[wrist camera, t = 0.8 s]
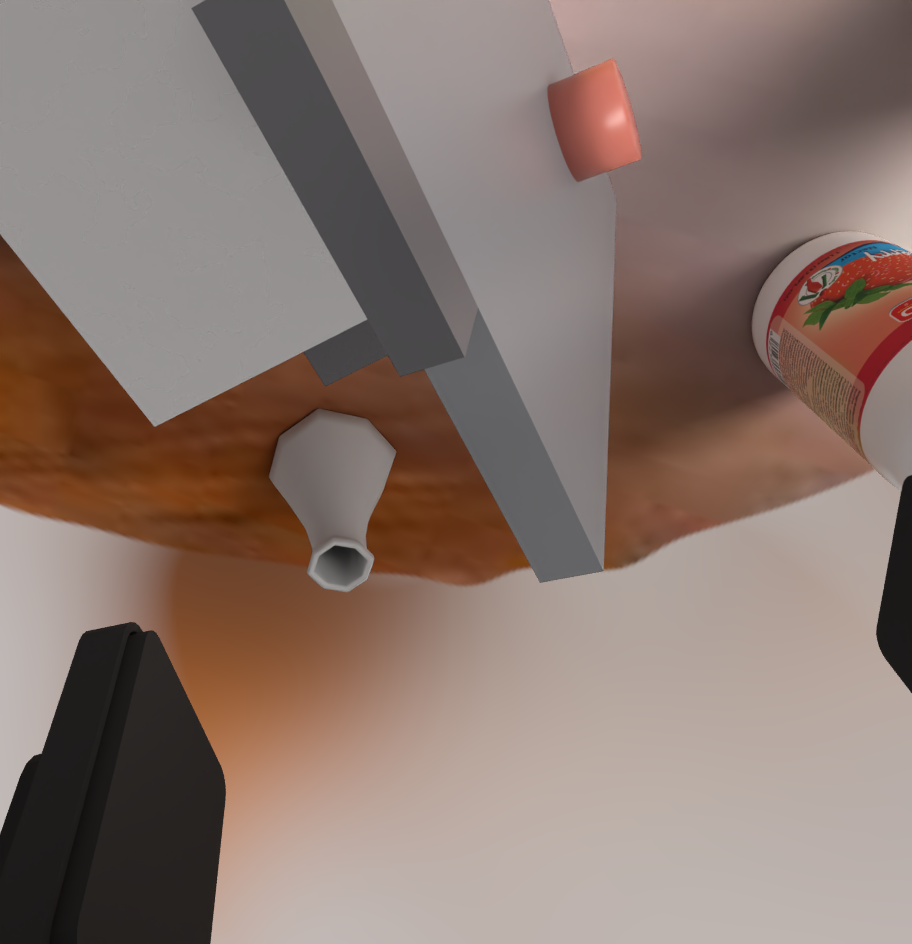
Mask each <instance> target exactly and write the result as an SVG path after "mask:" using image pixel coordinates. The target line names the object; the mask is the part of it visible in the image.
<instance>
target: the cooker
mask: <svg viewBox="0 0 912 944" xmlns="http://www.w3.org/2000/svg"><path fill="white" fill-rule="evenodd" d="M202 1H204V0H0V234H1V236H2V237H3V238H4V239H5V241H6V242H7V243H8V244H9V246H10V247H11V248H12V249H13V251H14V252H15V253H16V254H17V256H18V257H19V258H20V259H21V261H22V262H23V263H24V264H25V266H26V267H27V268H28V269H29V271H30V272H31V273H32V274H33V276H34V277H35V278H36V279H37V281H38V282H39V283H40V284H41V286H42V287H43V288H44V289H45V291H46V292H47V293H48V294H49V296H50V297H51V298H52V299H53V301H54V302H55V303H56V304H57V306H58V307H59V308H60V309H61V311H62V312H63V313H64V314H65V316H66V317H67V318H68V319H69V321H70V322H71V323H72V324H73V326H74V327H75V328H76V329H77V331H78V332H79V333H80V334H81V336H82V337H83V338H84V339H85V341H86V342H87V343H88V344H89V346H90V347H91V348H92V349H93V351H94V352H95V353H96V354H97V356H98V357H99V358H100V359H101V361H102V362H103V363H104V364H105V366H106V367H107V368H108V369H109V371H110V372H111V373H112V374H113V376H114V377H115V378H116V379H117V381H118V382H119V383H120V384H121V386H122V387H123V388H124V389H125V391H126V392H127V393H128V394H129V396H130V397H131V398H132V399H133V401H134V402H135V403H136V404H137V406H138V407H139V408H140V409H141V411H142V412H143V413H144V414H145V416H146V417H147V418H148V419H149V421H150V422H151V423H152V424H153V426H154V427H155V426H157V425H159V424H161V423H163V422H165V421H167V420H169V419H171V418H173V417H175V416H177V415H179V414H181V413H183V412H185V411H187V410H189V409H191V408H193V407H195V406H197V405H199V404H201V403H203V402H205V401H207V400H209V399H211V398H213V397H215V396H217V395H219V394H221V393H223V392H225V391H227V390H229V389H231V388H233V387H235V386H237V385H239V384H241V383H243V382H245V381H246V380H248V379H250V378H252V377H254V376H256V375H258V374H260V373H262V372H264V371H266V370H268V369H270V368H272V367H274V366H276V365H278V364H280V363H282V362H284V361H286V360H288V359H290V358H292V357H294V356H296V355H298V354H300V353H302V352H304V354H305V355H306V357H307V358H308V360H309V361H310V363H311V365H312V366H313V368H314V369H315V371H316V373H317V374H318V376H319V377H320V379H321V380H322V382H323V384H324V385H325V386H327V385H329V384H331V383H333V382H335V381H337V380H339V379H341V378H343V377H345V376H347V375H349V374H351V373H353V372H355V371H357V370H359V369H361V368H363V367H365V366H367V365H369V364H371V363H373V362H375V361H377V360H379V359H381V358H383V357H385V356H387V353H386V351H385V349H384V348H383V346H382V344H381V342H380V340H379V339H378V337H377V335H376V333H375V332H374V330H373V328H372V326H371V325H370V323H369V321H368V319H367V318H366V316H365V314H364V312H363V310H362V309H361V307H360V305H359V303H358V302H357V300H356V298H355V296H354V295H353V293H352V291H351V289H350V288H349V286H348V284H347V282H346V280H345V279H344V277H343V275H342V273H341V272H340V270H339V268H338V266H337V265H336V263H335V261H334V259H333V258H332V256H331V254H330V252H329V250H328V249H327V247H326V245H325V243H324V242H323V240H322V238H321V236H320V235H319V233H318V231H317V229H316V228H315V226H314V224H313V222H312V220H311V219H310V217H309V215H308V213H307V212H306V210H305V208H304V206H303V205H302V203H301V201H300V199H299V197H298V196H297V194H296V192H295V190H294V189H293V187H292V185H291V183H290V182H289V180H288V178H287V176H286V175H285V173H284V171H283V169H282V167H281V166H280V164H279V162H278V160H277V159H276V157H275V155H274V153H273V152H272V150H271V148H270V146H269V145H268V143H267V141H266V139H265V137H264V136H263V134H262V132H261V130H260V129H259V127H258V125H257V123H256V122H255V120H254V118H253V116H252V115H251V113H250V111H249V109H248V107H247V106H246V104H245V102H244V100H243V99H242V97H241V95H240V93H239V92H238V90H237V88H236V86H235V85H234V83H233V81H232V79H231V77H230V76H229V74H228V72H227V70H226V69H225V67H224V65H223V63H222V62H221V60H220V58H219V56H218V55H217V53H216V51H215V49H214V47H213V46H212V44H211V42H210V40H209V39H208V37H207V35H206V33H205V32H204V30H203V28H202V26H201V25H200V23H199V21H198V19H197V17H196V16H195V14H194V12H193V10H192V9H191V8H193V7H194V6H196V5H197V4H199V3H201V2H202Z"/></svg>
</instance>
